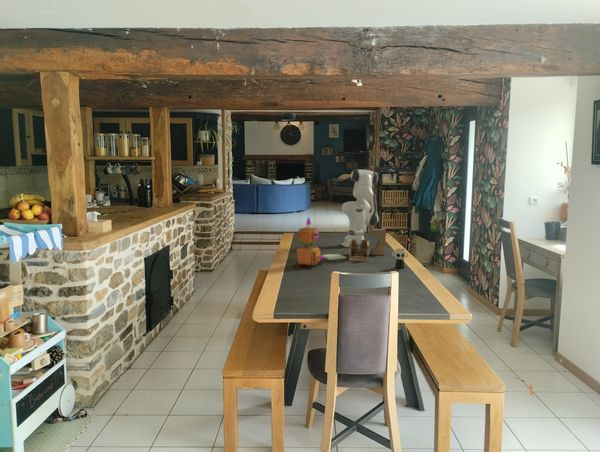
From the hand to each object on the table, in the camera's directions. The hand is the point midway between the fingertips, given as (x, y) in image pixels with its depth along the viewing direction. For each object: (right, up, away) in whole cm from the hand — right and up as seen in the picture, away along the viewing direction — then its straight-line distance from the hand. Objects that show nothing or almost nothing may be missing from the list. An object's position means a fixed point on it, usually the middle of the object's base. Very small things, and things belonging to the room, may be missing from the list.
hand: (358, 248), depth 377 cm
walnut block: (0, -4, 0) cm, 4 cm away
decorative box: (-37, -11, -32) cm, 50 cm away
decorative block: (+17, -6, +14) cm, 22 cm away
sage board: (-19, -7, 0) cm, 20 cm away
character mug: (+24, -12, -35) cm, 44 cm away
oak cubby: (0, -7, +1) cm, 7 cm away
